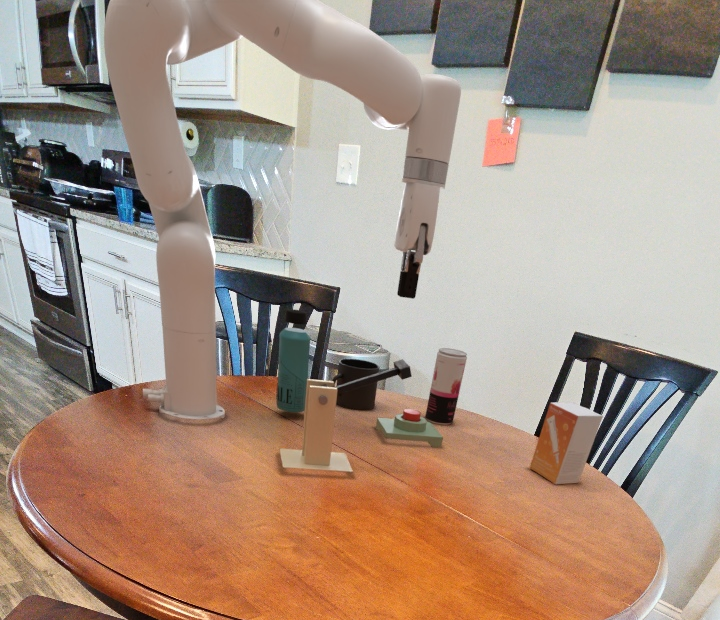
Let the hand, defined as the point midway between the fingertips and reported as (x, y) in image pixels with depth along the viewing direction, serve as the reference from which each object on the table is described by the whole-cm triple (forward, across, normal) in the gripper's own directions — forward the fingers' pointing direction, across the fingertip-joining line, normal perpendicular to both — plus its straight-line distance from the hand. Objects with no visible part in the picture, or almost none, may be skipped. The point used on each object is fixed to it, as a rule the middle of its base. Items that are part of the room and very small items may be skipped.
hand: (406, 296), depth 111 cm
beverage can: (+25, -10, +15) cm, 31 cm away
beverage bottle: (+25, -5, -20) cm, 33 cm away
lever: (+12, +24, -11) cm, 29 cm away
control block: (+25, +4, +4) cm, 26 cm away
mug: (+25, -17, -5) cm, 31 cm away
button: (+21, +4, +4) cm, 22 cm away
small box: (+25, +21, +30) cm, 45 cm away
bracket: (+25, +24, -18) cm, 39 cm away
